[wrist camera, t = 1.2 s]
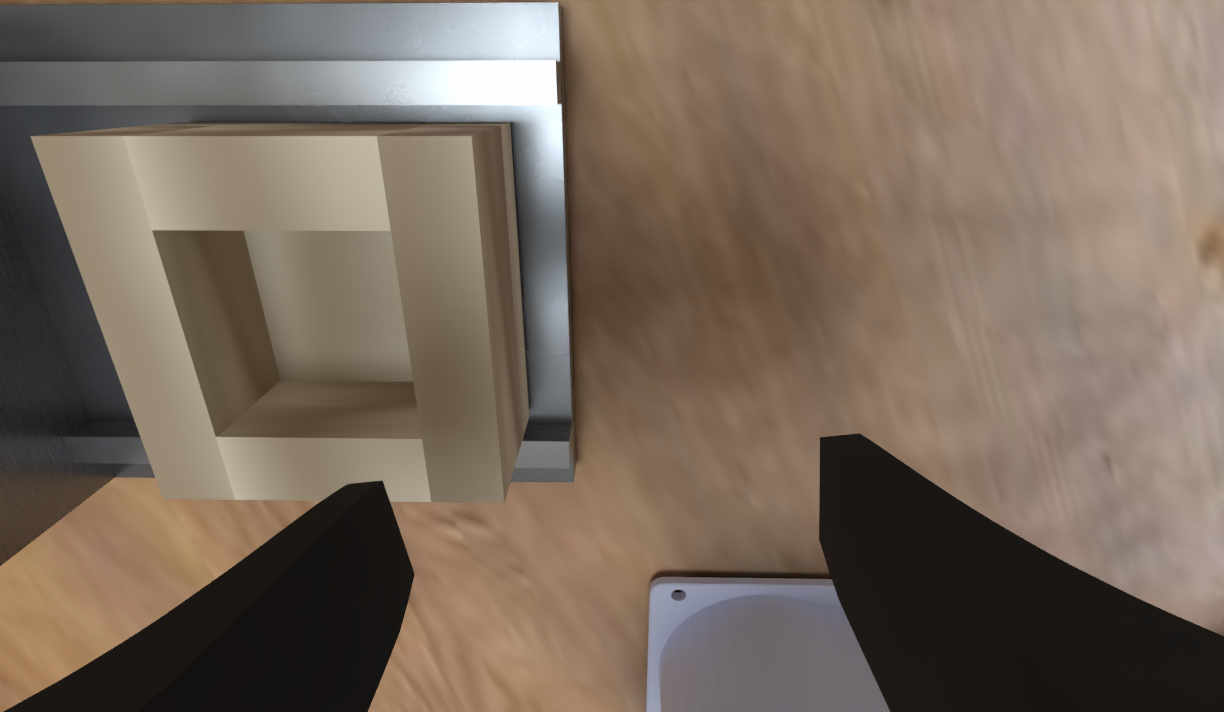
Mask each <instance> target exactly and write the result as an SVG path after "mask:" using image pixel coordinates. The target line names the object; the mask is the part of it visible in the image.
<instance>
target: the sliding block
mask: <svg viewBox="0 0 1224 712" xmlns="http://www.w3.org/2000/svg"><path fill="white" fill-rule="evenodd" d="M30 137H31V139H32V142H33V145H34V148H35V150H36V153H37V156H38V159H39V161H40V164H41V167H42V169H43V172H44V175H45V178H46V180H47V183H48V186H49V189H50V191H51V194H52V197H53V199H54V202H55V205H56V208H57V210H58V213H59V216H60V219H61V221H62V224H63V227H64V230H65V232H66V235H67V238H68V240H69V243H70V246H71V249H72V251H73V254H74V257H75V260H76V262H77V265H78V268H79V270H80V273H81V276H82V279H83V281H84V284H85V287H86V290H87V292H88V295H89V298H90V300H91V303H92V306H93V309H94V311H95V314H96V317H97V320H98V322H99V325H100V328H101V331H102V333H103V336H104V339H105V341H106V344H107V347H108V350H109V352H110V355H111V358H112V361H113V363H114V366H115V369H116V371H117V374H118V377H119V380H120V382H121V385H122V388H123V391H124V393H125V396H126V399H127V401H128V404H129V407H130V410H131V412H132V415H133V418H134V421H135V423H136V426H137V429H138V432H139V434H140V437H141V440H142V442H143V445H144V448H145V451H146V453H147V456H148V459H149V462H150V464H151V467H152V470H153V472H154V475H155V478H156V481H157V483H158V486H159V489H160V492H161V494H162V497H163V499H223V500H306V501H322V500H324V499H325V498H327V497H328V496H330V495H331V494H333V493H334V492H336V491H337V490H339V489H340V488H342V487H344V486H345V485H347V484H352V483H362V482H372V481H382V480H383V483H384V486H385V489H386V492H387V495H388V498H389V501H390V502H474V503H505V499H506V496H507V492H508V489H509V485H510V482H511V478H512V475H513V471H514V468H515V464H516V461H517V458H518V454H519V451H520V447H521V444H522V440H523V437H524V433H525V430H526V426H527V423H528V419H529V404H528V389H527V373H526V358H525V342H524V327H523V311H522V296H521V280H520V265H519V250H518V234H517V219H516V203H515V188H514V172H513V157H512V142H511V126H510V122H177V123H166V124H155V125H144V126H134V127H123V128H112V129H101V130H91V131H80V132H69V133H58V134H48V135H37V136H30Z"/></svg>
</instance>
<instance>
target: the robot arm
mask: <svg viewBox="0 0 1224 712" xmlns="http://www.w3.org/2000/svg"><path fill="white" fill-rule="evenodd" d="M819 540H820V543H821V546H822V550H823V553H824V556H825V559H826V563H827V566H828V569H829V572H830V575H831V578H832V579H785V578H715V577H659V578H657V579H655V580H653V581H652V583H651V584H650V591H649V624H648V656H647V689H646V712H1224V636H1221V635H1219V634H1217V633H1215V632H1212V631H1210V630H1208V629H1205V628H1203V627H1201V626H1198V625H1196V624H1194V623H1191V622H1189V621H1187V620H1184V619H1182V618H1180V617H1177V616H1175V615H1173V614H1170V613H1168V612H1166V611H1164V610H1162V609H1160V608H1157V607H1155V606H1153V605H1151V604H1149V603H1147V602H1144V601H1142V600H1140V599H1138V598H1136V597H1134V596H1132V595H1129V594H1127V593H1125V592H1123V591H1121V590H1119V589H1117V588H1115V587H1113V586H1111V585H1109V584H1107V583H1105V582H1103V581H1101V580H1099V579H1097V578H1095V577H1093V576H1091V575H1089V574H1087V573H1085V572H1083V571H1081V570H1079V569H1077V568H1075V567H1073V566H1071V565H1069V564H1068V563H1066V562H1064V561H1062V560H1060V559H1058V558H1056V557H1055V556H1053V555H1051V554H1049V553H1047V552H1045V551H1044V550H1042V549H1040V548H1038V547H1036V546H1035V545H1033V544H1031V543H1030V542H1028V541H1026V540H1024V539H1023V538H1021V537H1019V536H1017V535H1016V534H1014V533H1012V532H1011V531H1009V530H1007V529H1005V528H1004V527H1002V526H1000V525H998V524H997V523H995V522H993V521H992V520H990V519H989V518H987V517H985V516H984V515H982V514H980V513H979V512H977V511H976V510H974V509H972V508H971V507H969V506H968V505H966V504H964V503H963V502H961V501H960V500H958V499H957V498H955V497H953V496H952V495H950V494H949V493H947V492H946V491H944V490H943V489H941V488H940V487H938V486H937V485H935V484H934V483H932V482H931V481H929V480H928V479H926V478H925V477H923V476H922V475H920V474H919V473H917V472H916V471H914V470H913V469H912V468H910V467H909V466H907V465H906V464H904V463H903V462H901V461H900V460H898V459H897V458H895V457H894V456H893V455H891V454H890V453H888V452H887V451H885V450H884V449H882V448H881V447H879V446H878V445H876V444H875V443H873V442H872V441H870V440H869V439H867V438H866V437H864V436H863V435H861V434H851V435H840V436H830V437H820V517H819ZM413 578H414V571H413V568H412V565H411V563H410V560H409V557H408V554H407V551H406V548H405V545H404V542H403V539H402V536H401V533H400V530H399V527H398V524H397V521H396V518H395V515H394V512H393V509H392V507H391V504H390V501H389V498H388V495H387V492H386V489H385V486H384V483H383V480H382V481H372V482H362V483H352V484H347V485H345V486H344V487H342V488H340V489H339V490H337V491H336V492H334V493H333V494H331V495H330V496H328V497H327V498H325V499H324V500H322V501H321V502H320V503H318V504H317V505H315V506H314V507H313V508H311V509H310V510H309V511H307V512H306V513H305V514H303V515H302V516H301V517H299V518H298V519H297V520H295V521H294V522H293V523H291V524H290V525H289V526H287V527H286V528H285V529H283V530H282V531H281V532H279V533H278V534H277V535H275V536H274V537H272V538H271V539H270V540H268V541H267V542H266V543H264V544H263V545H262V546H260V547H259V548H258V549H256V550H255V551H254V552H252V553H251V554H250V555H248V556H247V557H246V558H244V559H243V560H242V561H240V562H239V563H238V564H236V565H235V566H234V567H232V568H231V569H229V570H228V571H227V572H225V573H224V574H222V575H221V576H220V577H218V578H217V579H215V580H214V581H212V582H211V583H210V584H208V585H207V586H205V587H204V588H202V589H201V590H200V591H198V592H197V593H195V594H194V595H192V596H191V597H190V598H188V599H187V600H185V601H184V602H183V603H181V604H180V605H178V606H177V607H175V608H174V609H173V610H171V611H170V612H168V613H167V614H165V615H164V616H162V617H161V618H159V619H158V620H156V621H155V622H153V623H152V624H150V625H149V626H147V627H146V628H144V629H143V630H141V631H140V632H138V633H137V634H135V635H133V636H132V637H130V638H129V639H127V640H126V641H124V642H123V643H121V644H119V645H118V646H116V647H114V648H113V649H111V650H110V651H108V652H106V653H105V654H103V655H101V656H100V657H98V658H96V659H95V660H93V661H92V662H90V663H88V664H87V665H85V666H83V667H82V668H80V669H79V670H77V671H75V672H73V673H72V674H70V675H68V676H67V677H65V678H63V679H62V680H60V681H58V682H56V683H55V684H53V685H51V686H49V687H47V688H46V689H44V690H42V691H40V692H38V693H36V694H35V695H33V696H31V697H29V698H27V699H26V700H24V701H22V702H20V703H18V704H17V705H15V706H13V707H11V708H9V709H7V710H6V711H4V712H368V709H369V707H370V705H371V702H372V700H373V697H374V695H375V692H376V690H377V688H378V685H379V683H380V680H381V678H382V675H383V673H384V670H385V668H386V665H387V663H388V660H389V658H390V655H391V653H392V650H393V648H394V645H395V643H396V640H397V637H398V635H399V632H400V629H401V625H402V621H403V618H404V614H405V611H406V607H407V603H408V599H409V595H410V591H411V587H412V583H413ZM675 590H683V591H682V592H674V591H675Z"/></svg>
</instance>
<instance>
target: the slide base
mask: <svg viewBox="0 0 1224 712" xmlns="http://www.w3.org/2000/svg"><path fill="white" fill-rule="evenodd" d="M177 122H510V126H511V142H512V157H513V172H514V188H515V203H516V219H517V234H518V250H519V265H520V280H521V296H522V311H523V327H524V342H525V358H526V373H527V389H528V404H529V419H528V423H527V426H526V430H525V433H524V437H523V440H522V444H521V447H520V451H519V454H518V458H517V461H516V464H515V468H514V471H513V475H512V478H511V482H574V476H575V469H576V443H575V410H574V377H573V344H572V311H571V278H570V245H569V212H568V179H567V146H566V113H565V80H564V47H563V14H562V6H561V5H560V4H559V3H334V4H103V5H0V566H1V565H2V564H4V563H5V562H6V561H7V560H9V559H10V558H11V557H13V556H14V555H15V554H17V553H18V552H19V551H20V550H22V549H23V548H24V547H26V546H27V545H28V544H29V543H31V542H32V541H33V540H35V539H36V538H37V537H38V536H40V535H41V534H42V533H44V532H45V531H46V530H47V529H49V528H50V527H51V526H53V525H54V524H55V523H56V522H58V521H59V520H60V519H62V518H63V517H64V516H66V515H67V514H68V513H69V512H71V511H72V510H73V509H75V508H76V507H77V506H78V505H80V504H81V503H82V502H84V501H85V500H86V499H87V498H89V497H90V496H91V495H93V494H94V493H95V492H96V491H98V490H99V489H100V488H102V487H103V486H104V485H105V484H107V483H108V482H109V481H111V480H112V479H113V478H115V477H150V478H155V475H154V472H153V470H152V467H151V464H150V462H149V459H148V456H147V453H146V451H145V448H144V445H143V442H142V440H141V437H140V434H139V432H138V429H137V426H136V423H135V421H134V418H133V415H132V412H131V410H130V407H129V404H128V401H127V399H126V396H125V393H124V391H123V388H122V385H121V382H120V380H119V377H118V374H117V371H116V369H115V366H114V363H113V361H112V358H111V355H110V352H109V350H108V347H107V344H106V341H105V339H104V336H103V333H102V331H101V328H100V325H99V322H98V320H97V317H96V314H95V311H94V309H93V306H92V303H91V300H90V298H89V295H88V292H87V290H86V287H85V284H84V281H83V279H82V276H81V273H80V270H79V268H78V265H77V262H76V260H75V257H74V254H73V251H72V249H71V246H70V243H69V240H68V238H67V235H66V232H65V230H64V227H63V224H62V221H61V219H60V216H59V213H58V210H57V208H56V205H55V202H54V199H53V197H52V194H51V191H50V189H49V186H48V183H47V180H46V178H45V175H44V172H43V169H42V167H41V164H40V161H39V159H38V156H37V153H36V150H35V148H34V145H33V142H32V139H31V137H30V136H37V135H48V134H58V133H69V132H80V131H91V130H101V129H112V128H123V127H134V126H144V125H155V124H166V123H177Z"/></svg>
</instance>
